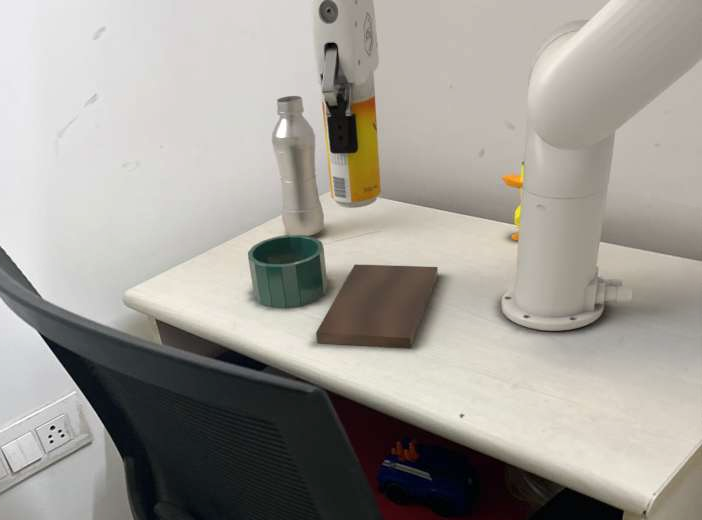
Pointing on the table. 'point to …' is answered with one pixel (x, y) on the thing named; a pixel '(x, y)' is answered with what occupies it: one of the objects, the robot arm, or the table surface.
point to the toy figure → (517, 183)
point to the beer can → (363, 166)
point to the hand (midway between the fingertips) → (351, 141)
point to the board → (379, 306)
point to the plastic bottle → (297, 168)
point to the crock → (288, 271)
